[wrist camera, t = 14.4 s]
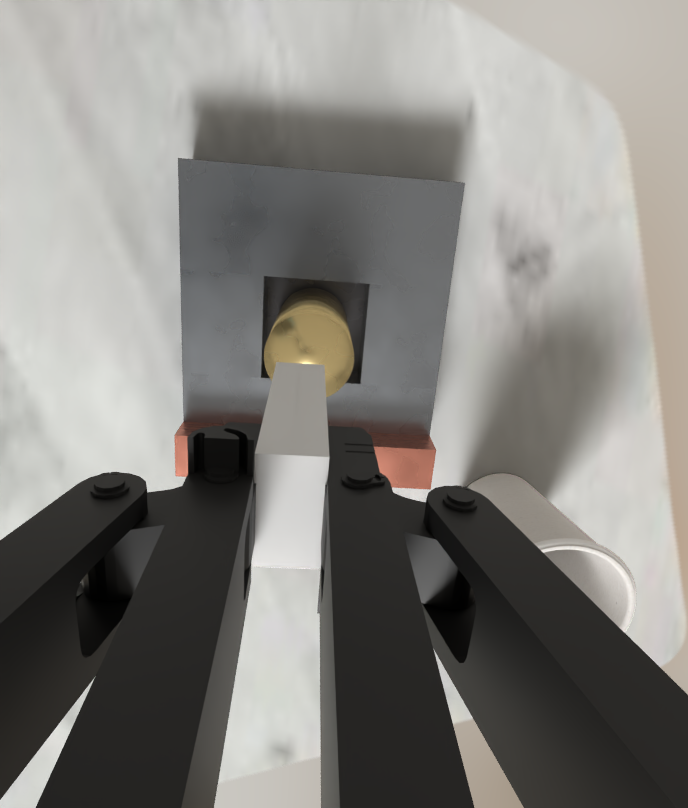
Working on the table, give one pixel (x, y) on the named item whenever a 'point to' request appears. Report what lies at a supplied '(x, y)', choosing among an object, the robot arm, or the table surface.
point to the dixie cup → (565, 545)
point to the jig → (324, 269)
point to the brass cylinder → (312, 336)
